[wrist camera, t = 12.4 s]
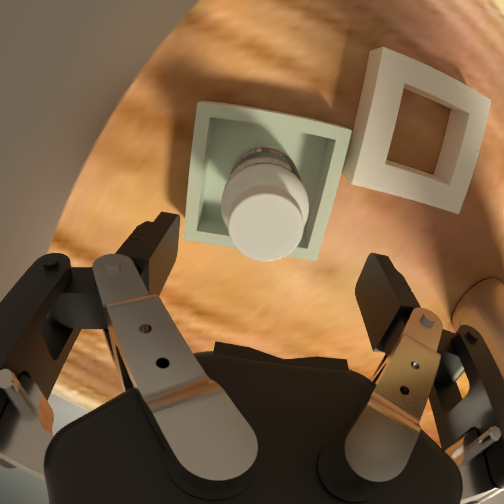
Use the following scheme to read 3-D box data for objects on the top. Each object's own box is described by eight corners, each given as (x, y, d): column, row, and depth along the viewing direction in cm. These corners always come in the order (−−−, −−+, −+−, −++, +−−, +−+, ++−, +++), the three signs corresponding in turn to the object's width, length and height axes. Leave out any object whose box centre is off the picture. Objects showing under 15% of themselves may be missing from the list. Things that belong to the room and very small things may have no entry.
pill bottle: (295, 208, 26) (311, 274, 17) (231, 207, 26) (215, 271, 17) (299, 145, 23) (321, 181, 14) (231, 143, 23) (210, 178, 14)
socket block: (472, 96, 19) (491, 100, 17) (443, 202, 25) (458, 214, 22) (369, 50, 19) (383, 46, 16) (342, 173, 24) (351, 184, 22)
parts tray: (341, 125, 22) (352, 130, 20) (311, 243, 28) (316, 261, 25) (205, 100, 22) (197, 101, 19) (191, 224, 27) (183, 239, 25)
